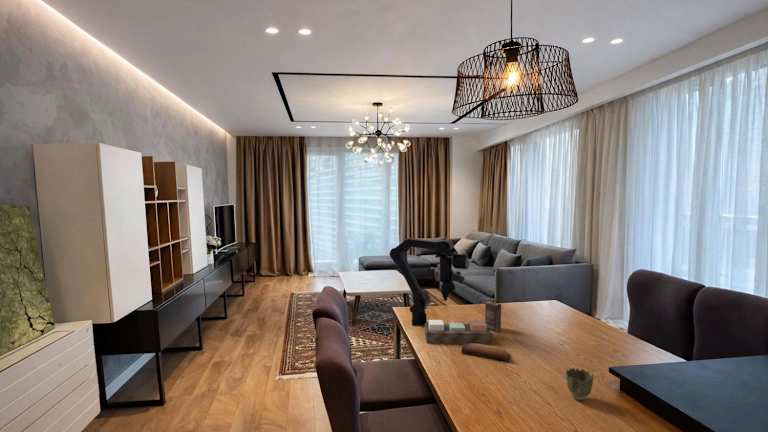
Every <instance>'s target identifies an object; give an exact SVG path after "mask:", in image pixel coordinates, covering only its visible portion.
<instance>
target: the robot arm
mask: <svg viewBox="0 0 768 432" xmlns="http://www.w3.org/2000/svg"><path fill="white" fill-rule="evenodd" d="M411 248H418V249H426V250H427V249H428V250H433V251H435V252H437V254H436V255H434V257H435V258H439V268H438V272H439V273H438V275H437V276H436V281H437V283H438V288H439V290H440V292H441V295H442V299H443V301H445V302H447V301H448V298H449V294H450V291H456V285H455V283H454V282H456V283H459V284H460V285H463V283H464V281H465V276H464V275H463V274H462V273H461V271H458V270H469V268H470V259H469V257H468V256H469V255H468V254H467V253H462V254H461V253H459V252H458V251H457V249H456V248H455V247H454V242H453V241H452V240H450V239H441V240H440V239H439V240H430V239H429V240H428V239H421V238H420V239H419V238H413V237H408V238H405V239H404V241H402V242H401V243H400V244H399V245H398V244H397V246H396V247H393V248H392V249H390V251H389V257H390V258H391V260H392V261H393V262H394V264H395V265H396V266H398V267H399V269H400V271H401V274H402V276H403V278H404V279H405V282H406V283H407V285H408V287H409V289H410V291H411V295H412V302H413V304H412V305H411V306H410V307H409V311H410V313H411V325H412V326H425V323H427V313H426V310H427V307H429V305H430V304H431V296H430V295H429V293H428V290H427V289H426V290H423V289H422V287H421V286H420V284H419V281H418V280H417V277H416V276H415V273H414V272H413V269H412V268H411V266H410V264H409V262H408V261H409V260H408V254H407V252H408V251H410V249H411ZM453 268H454V269H458V270H456V271H455V272H454V270H453Z"/></svg>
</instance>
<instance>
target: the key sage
mask: <svg viewBox="0 0 768 432" xmlns="http://www.w3.org/2000/svg"><path fill="white" fill-rule="evenodd" d="M448 324H449V329H450V331H465V326H464V324H465V323H463V322H449V323H448Z"/></svg>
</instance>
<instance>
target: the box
mask: <svg viewBox="0 0 768 432" xmlns="http://www.w3.org/2000/svg"><path fill="white" fill-rule="evenodd" d="M484 304H485V305H484V306H485V310H484V313H485V314H484V318H485V319H484V322H485V323H486V325H487V327H488V329H489V330H491V331H493V332H499V331H501V328H502V326H501V324H502V303H498V302H494V301H487V302H485V303H484Z"/></svg>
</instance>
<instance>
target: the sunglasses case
mask: <svg viewBox="0 0 768 432" xmlns="http://www.w3.org/2000/svg"><path fill="white" fill-rule="evenodd" d="M461 354H468V355H474V356H475V355H477V356H478V355H479V356H481V357H488V358H493V359H496V360H502V361H506V362H508V363H509V362H510V358H511V353H509V352H508V351H507V350H505V349H503V348H501V347H498V346H495V345H490V344H477V343H470V344H463V345H462V346H461Z"/></svg>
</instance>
